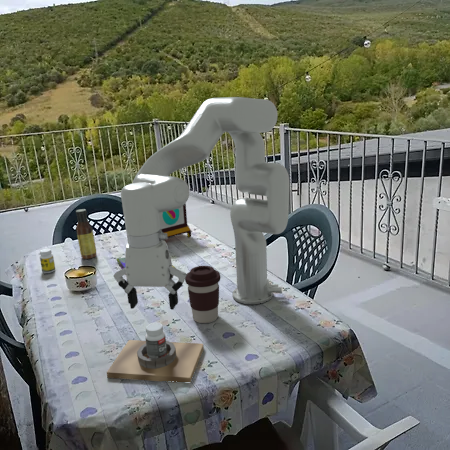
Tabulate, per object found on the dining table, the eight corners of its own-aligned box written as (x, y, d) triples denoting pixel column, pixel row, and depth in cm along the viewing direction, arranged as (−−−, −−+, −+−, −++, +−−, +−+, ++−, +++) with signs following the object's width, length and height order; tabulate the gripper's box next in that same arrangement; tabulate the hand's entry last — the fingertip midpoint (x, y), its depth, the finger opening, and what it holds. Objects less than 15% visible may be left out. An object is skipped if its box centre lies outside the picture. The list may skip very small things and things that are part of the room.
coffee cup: (210, 329, 123) (206, 279, 119) (181, 321, 128) (177, 273, 124) (229, 314, 131) (226, 266, 127) (201, 306, 136) (198, 261, 132)
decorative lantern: (172, 228, 216) (167, 166, 207) (196, 237, 201) (191, 171, 192) (135, 238, 204) (127, 173, 196) (157, 248, 189) (150, 178, 180)
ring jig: (203, 348, 114) (202, 336, 113) (190, 383, 101) (189, 370, 100) (129, 344, 118) (128, 333, 117) (107, 377, 105) (105, 364, 104)
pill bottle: (163, 363, 106) (160, 332, 104) (144, 361, 107) (141, 330, 105) (169, 352, 111) (167, 322, 108) (151, 350, 112) (148, 320, 109)
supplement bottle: (39, 272, 170) (35, 251, 167) (48, 267, 174) (45, 247, 171) (49, 273, 168) (45, 252, 166) (58, 269, 172) (54, 248, 170)
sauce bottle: (100, 255, 184) (93, 209, 178) (88, 260, 179) (81, 213, 173) (89, 253, 188) (82, 207, 182) (77, 258, 183) (70, 211, 177)
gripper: (186, 232, 102) (193, 299, 107) (115, 233, 105) (125, 298, 111) (177, 244, 95) (185, 315, 100) (101, 244, 98) (113, 313, 104)
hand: (153, 306), depth 106 cm, fingers open, 9 cm apart
